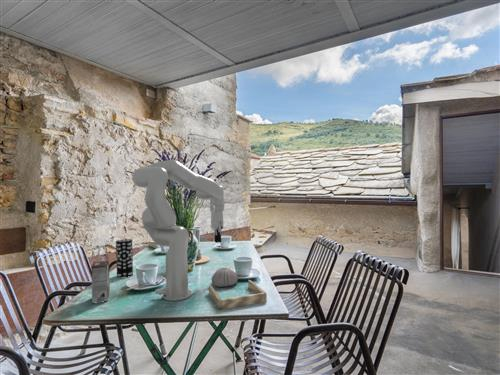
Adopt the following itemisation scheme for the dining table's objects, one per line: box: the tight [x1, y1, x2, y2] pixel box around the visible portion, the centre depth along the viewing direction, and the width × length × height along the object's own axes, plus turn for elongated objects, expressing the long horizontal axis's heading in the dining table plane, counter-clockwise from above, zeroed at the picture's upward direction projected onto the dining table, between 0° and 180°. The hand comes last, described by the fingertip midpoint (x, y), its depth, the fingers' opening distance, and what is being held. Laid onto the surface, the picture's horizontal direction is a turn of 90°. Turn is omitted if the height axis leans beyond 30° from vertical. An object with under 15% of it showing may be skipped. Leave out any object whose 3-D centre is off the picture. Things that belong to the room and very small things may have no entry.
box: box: [208, 279, 268, 310], centre depth 128 cm, size 20×19×4 cm
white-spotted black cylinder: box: [115, 238, 134, 278], centre depth 164 cm, size 8×8×20 cm
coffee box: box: [90, 260, 111, 304], centre depth 129 cm, size 9×6×16 cm
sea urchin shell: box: [211, 267, 239, 287], centre depth 146 cm, size 13×14×8 cm
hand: (218, 242), depth 157 cm, fingers closed
